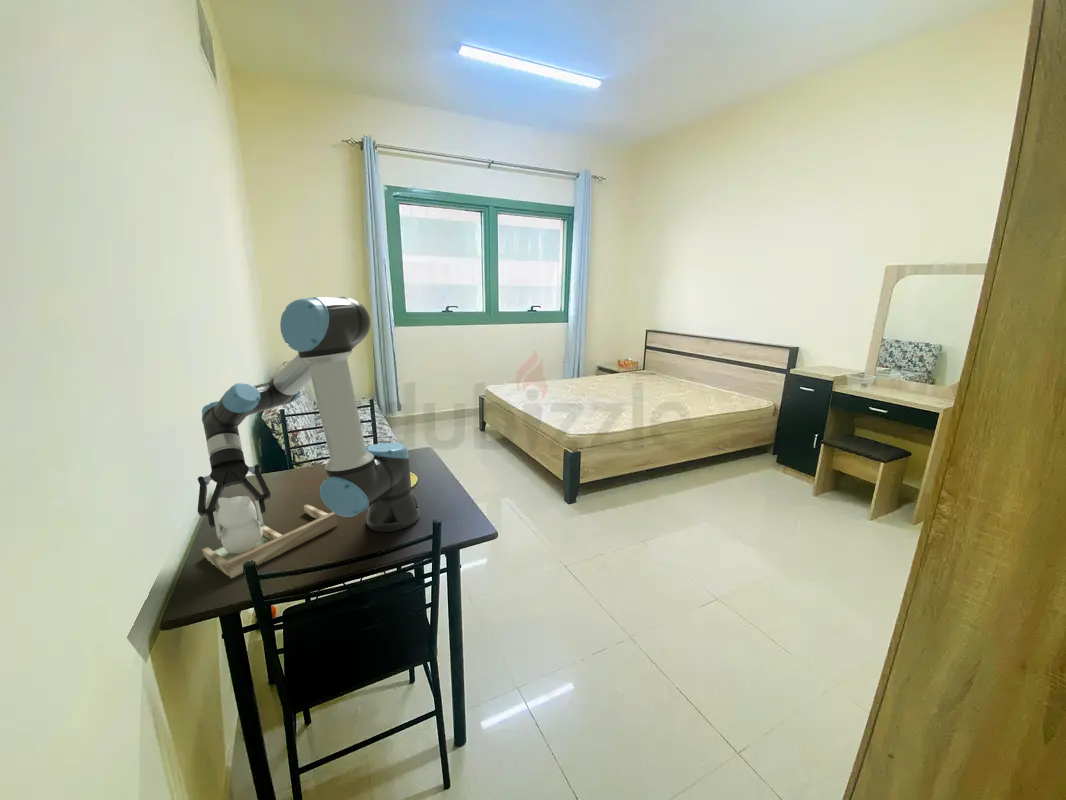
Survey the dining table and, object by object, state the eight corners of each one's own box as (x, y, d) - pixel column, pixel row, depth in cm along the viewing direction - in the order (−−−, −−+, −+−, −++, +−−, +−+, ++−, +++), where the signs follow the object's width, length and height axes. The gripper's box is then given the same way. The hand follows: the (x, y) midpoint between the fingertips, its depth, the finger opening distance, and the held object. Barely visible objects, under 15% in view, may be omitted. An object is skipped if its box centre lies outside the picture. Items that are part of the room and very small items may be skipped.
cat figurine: (214, 560, 105) (204, 506, 101) (237, 533, 116) (229, 483, 113) (254, 557, 106) (246, 503, 103) (273, 530, 118) (266, 481, 114)
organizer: (337, 525, 123) (336, 513, 122) (231, 578, 101) (228, 564, 100) (307, 510, 132) (305, 499, 131) (202, 556, 109) (199, 543, 108)
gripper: (271, 451, 124) (288, 522, 116) (179, 469, 112) (191, 550, 104) (270, 438, 119) (288, 512, 110) (173, 456, 107) (185, 541, 98)
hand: (241, 531), depth 107 cm, fingers closed on cat figurine, 8 cm apart
